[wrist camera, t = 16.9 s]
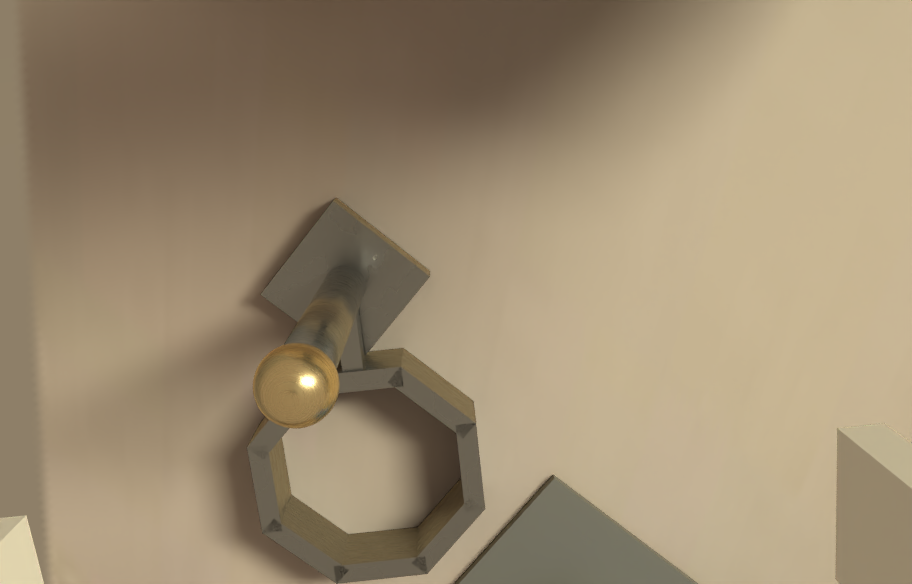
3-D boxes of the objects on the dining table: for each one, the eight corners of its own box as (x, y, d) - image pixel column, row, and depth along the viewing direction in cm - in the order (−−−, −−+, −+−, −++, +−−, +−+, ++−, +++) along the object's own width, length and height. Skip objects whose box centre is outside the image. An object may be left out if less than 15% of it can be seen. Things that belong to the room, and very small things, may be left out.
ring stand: (336, 197, 46) (266, 265, 27) (570, 381, 49) (657, 559, 30) (159, 425, 49) (-16, 631, 30) (390, 584, 52) (365, 863, 33)
